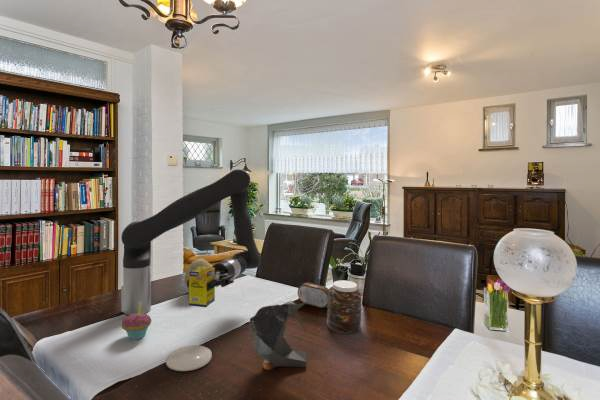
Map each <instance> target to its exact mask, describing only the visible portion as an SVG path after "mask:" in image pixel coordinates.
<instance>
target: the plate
mask: <svg viewBox="0 0 600 400" xmlns="http://www.w3.org/2000/svg"><path fill="white" fill-rule="evenodd" d="M212 354H213V353H212V351H211V349H210V348H208V347H206V346H203V345H196V344H195V345H194V344H193V345H186V346H182V347H178V348H176V349H174V350H172V351H171V352H169V353H168V354H167V356H166V358H165V364H166V366H167V368H169V369H170V370H173V371H176V372H177V371H178V372H189V371H194V370H198V369H200V368H202V367H205V366H206V365H208V364H209V362H210V361H211V360H212V356H213V355H212Z"/></svg>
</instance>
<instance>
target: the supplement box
mask: <svg viewBox="0 0 600 400" xmlns="http://www.w3.org/2000/svg"><path fill="white" fill-rule="evenodd" d="M213 279H214V280H215V268H213V267H201V266H198V267H197V268H195V269H193V270H190V271H189V289H188V292H189V293H188V303H189V304H188V306H190V307H200V308H207V307H209V306H210V305H211V304H212V303H214V302H215V299H216V297H215V296H216V295H215V294H216V292H215V291H216V289H215V288H216V287H214V288H212V289H210V290H207V283H208V282H209V281H211V280H213Z"/></svg>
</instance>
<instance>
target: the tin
mask: <svg viewBox="0 0 600 400" xmlns="http://www.w3.org/2000/svg"><path fill="white" fill-rule="evenodd" d="M328 291H329V288H328V287H326V286H324V285H319V284H315V283H312V282H304V283H302V284H301V285H300V286H299V287H298V288H297V297H298V300H300V302H302V303H306V302H307V303H306V304H305V305H308V306H312V307H315V308H319V309H325V308H327V307H328Z"/></svg>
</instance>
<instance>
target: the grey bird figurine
mask: <svg viewBox="0 0 600 400" xmlns="http://www.w3.org/2000/svg"><path fill="white" fill-rule="evenodd" d="M306 303H307V302H306ZM306 303H303V302H302V303H295V302H293V300H290V301H287V302H285V303H283V304H273V305H266V306H262V307H261V308H259V309H258V310H257V312H256V313H255V315H253V316H251V317H250V318H249V323H248V324H249V328H250V331H251V335H252V338H253V342H254V343H253V345H254V348H255V351H256V352H255V353H256V354H258V355H259V357H261V358H262V359H263V361H262V362H263V369H264V370H267V371H271V370H273V369H275V368H277V367H278V368H279V367H286V368H287V367H294V368H306V367H307V351H302V350H293V349H292V346H290V345H289V343H288V342H287V341H286V338H284V336H285V331H286V325H287V320H288V318H289V317H291V315H294V317H295V318H296V319H297V321H298V322H299V323H300V325H301V326H302V327H303V329H304V330H305V331H307V329H306V327H305V325H304V322H303V320H302V317H301V316H300V314H299V311H298V310H299V309H300V308H301V307H303V306H305V305H307V304H306Z"/></svg>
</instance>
